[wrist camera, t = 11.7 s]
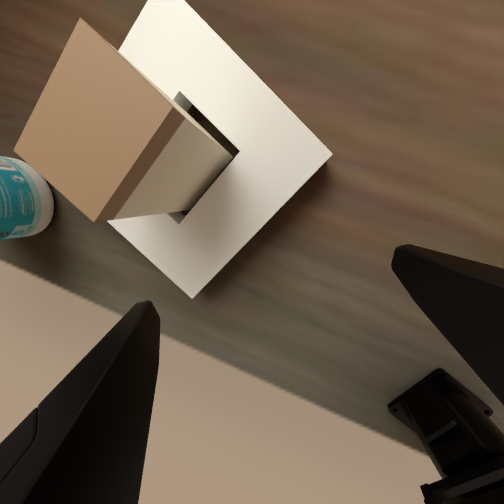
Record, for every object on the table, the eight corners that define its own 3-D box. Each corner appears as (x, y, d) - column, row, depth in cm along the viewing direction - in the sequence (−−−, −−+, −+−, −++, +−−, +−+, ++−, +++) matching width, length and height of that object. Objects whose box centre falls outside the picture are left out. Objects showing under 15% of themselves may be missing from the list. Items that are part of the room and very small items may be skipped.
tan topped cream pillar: (233, 157, 19) (172, 107, 9) (190, 209, 21) (93, 222, 10) (193, 118, 19) (80, 17, 8) (153, 174, 20) (13, 150, 10)
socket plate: (326, 159, 18) (332, 154, 16) (201, 288, 22) (192, 299, 20) (178, 7, 17) (161, -24, 15) (76, 172, 21) (49, 168, 19)
